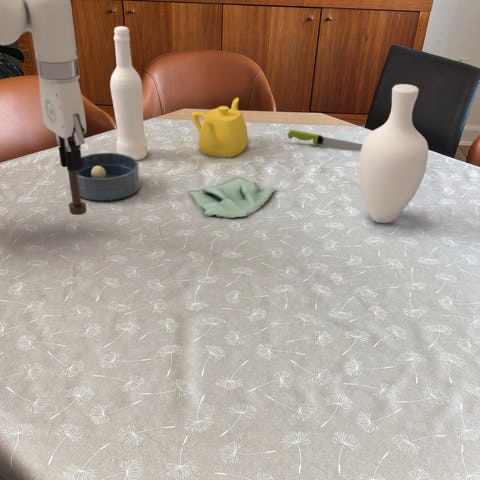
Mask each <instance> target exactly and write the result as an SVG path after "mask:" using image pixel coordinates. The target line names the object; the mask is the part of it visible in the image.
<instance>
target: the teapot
mask: <svg viewBox="0 0 480 480" xmlns="http://www.w3.org/2000/svg"><path fill="white" fill-rule="evenodd" d="M239 101H240V99H239V97H235V98H234V99H233V100H232V103H231V108H229V107H228V106H226V105H221V106H220V105H219V106H218V107H216V108H212V109H211V110H209V111H208V112H207V113H205V112H202V111H193V112H192V113H191V119H192V122H193V125H194V126H195V128H196V130H197V131H198V132H199V135H198V146H199V149H200V151H201V153H202V154H204V155H207V156H212V157H218V158H227V159H229V158H230V159H231V158H234V157H236V156H237V157H238V155H240V154H241V153H243V152H244V150H245V149H246V146H247V144H248V139H249V137H248V129H247V124H246V121H245V117H244V116H243V114H242V112H241V110H239V108H238V105H239ZM200 118H203V120H202V123H201V122H200Z"/></svg>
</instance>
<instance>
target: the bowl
mask: <svg viewBox="0 0 480 480" xmlns="http://www.w3.org/2000/svg"><path fill="white" fill-rule="evenodd" d="M81 159H82V169H79V170H77V174H78V182H79V189H80V196H81V197H82V198H84V199H87V200H90V201H97V202H112V201H117V200H123V199H125V198H128V197H131V196H132V195H133V194H135V193H136V192H138V190H139V189H140V188H141V176H140V164H139V162H138V160H136V159H134V158H132V157H130V156H127V155H124V154H118V152H117V153H116V152H97V153H91V154H87V155H83V156H81ZM95 166H101V167H103V168H104V169H105V171H106V177H105V178H92V176H91V170H92V169H93V167H95Z"/></svg>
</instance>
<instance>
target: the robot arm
mask: <svg viewBox="0 0 480 480" xmlns="http://www.w3.org/2000/svg"><path fill="white" fill-rule="evenodd" d="M74 27H75V25H74V18H73V9H72V2H71V0H0V46H9V45H12V44H14V43H16V41H18V40H19V38H20V37H21V36H22V35H23V34H25V33H27V32H30V33H31V38H32V44H33V50H34V56H35V62H36V63H35V64H36V68H37V76H38V81H39V82H38V87H39V99H40V107H41V114H42V122H43V125H44V127H46V128H47V129H48V130H50V131H51V132H52V133H53V134H54V135H55V140H56V145H57V146H58V153H59V159H60V165H61V167H62V168H66V170H67V172H68V171H74V170H79V169H82V159H81V157H82V151H81V150H82V145H85V144H86V141H85V137H84V136H85V135H86V133H87V119H86V113H85V107H84V101H83V96H82V90H81V87H80V82H79V79H80V78H81V75H80V68H79V58H78V51H77V43H76V42H77V41H76V35H75V28H74ZM64 139H65V145H66V150H67V151H65V146H64ZM70 139H73V140H71V142H70Z"/></svg>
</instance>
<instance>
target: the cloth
mask: <svg viewBox="0 0 480 480" xmlns="http://www.w3.org/2000/svg"><path fill="white" fill-rule="evenodd" d="M202 187H203V188H202V190H198V191H190V194H191V196H192V198H193V199H194V200H195V202H196V204H198V206H199V207H200V209H201V210H203V211H205V212H204V214H205V216H206V217H215V218H224V219H225V218H226V219H235V218H247V216H249V215H251V214H253V213H255V212H257V211H258V210H259V209H261V208H262V206H264V205H265V204H266V202H268V201H269V199H270V198H271V197H272V195H273V193H274V192H275V191H276V190H275V188H274V187H270V188H269V187H267V188H265V189H264V190H262V189H260V188H259V186H258V185H257V182H255V181H253V182H248V181H246V180H244V179H242V178H236V179H234V180H231V181H229V182H226V183H223V184H221V185H219V186H217V185H205V186H202Z"/></svg>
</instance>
